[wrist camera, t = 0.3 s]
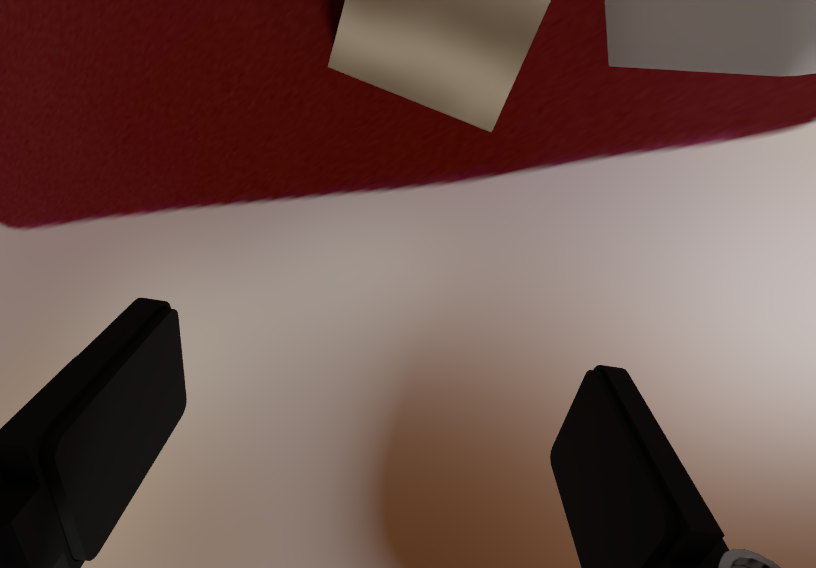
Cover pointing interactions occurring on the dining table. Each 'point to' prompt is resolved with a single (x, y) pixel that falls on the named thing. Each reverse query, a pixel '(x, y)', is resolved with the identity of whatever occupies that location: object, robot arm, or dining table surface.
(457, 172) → the dining table surface
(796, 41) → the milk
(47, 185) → the dining table surface
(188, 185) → the dining table surface
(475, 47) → the beech block
